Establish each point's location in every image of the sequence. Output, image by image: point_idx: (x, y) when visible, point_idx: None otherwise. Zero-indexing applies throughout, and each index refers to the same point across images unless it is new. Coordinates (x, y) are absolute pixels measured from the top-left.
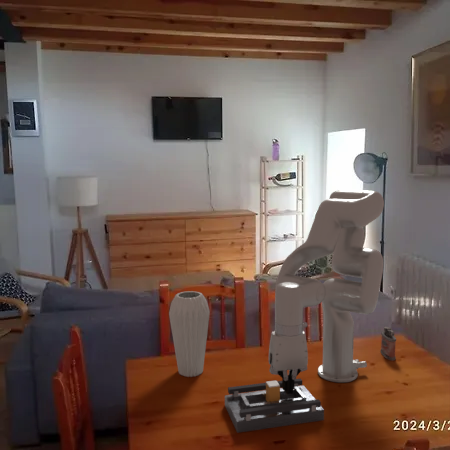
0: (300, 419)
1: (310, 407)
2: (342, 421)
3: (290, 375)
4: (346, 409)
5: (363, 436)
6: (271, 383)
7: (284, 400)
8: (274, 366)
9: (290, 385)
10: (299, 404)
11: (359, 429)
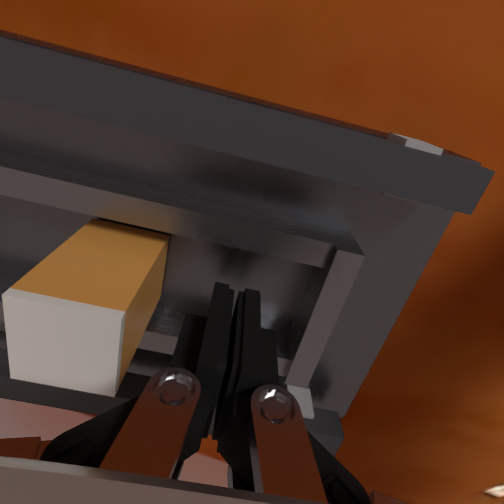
0: None
1: None
2: (388, 407)
3: (234, 450)
4: (487, 359)
5: (370, 478)
6: (48, 347)
7: (169, 343)
8: None
9: (216, 403)
10: (211, 433)
11: (395, 455)
